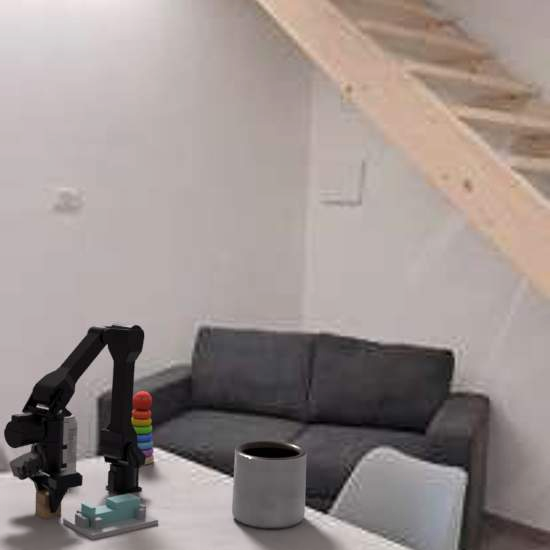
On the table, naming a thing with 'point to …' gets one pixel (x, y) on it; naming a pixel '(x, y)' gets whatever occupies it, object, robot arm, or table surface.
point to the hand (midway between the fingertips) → (48, 509)
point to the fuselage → (113, 509)
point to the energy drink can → (70, 442)
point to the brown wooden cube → (45, 505)
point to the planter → (269, 484)
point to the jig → (109, 524)
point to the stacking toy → (143, 424)
